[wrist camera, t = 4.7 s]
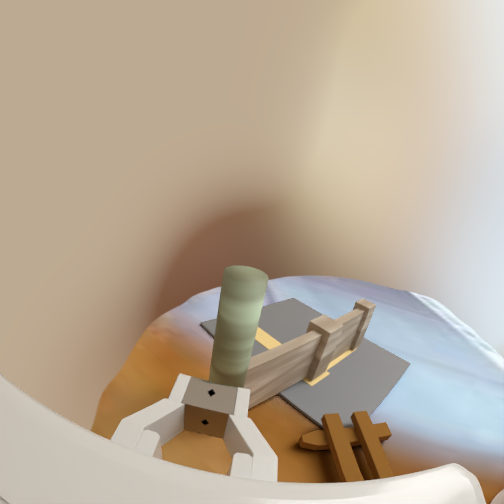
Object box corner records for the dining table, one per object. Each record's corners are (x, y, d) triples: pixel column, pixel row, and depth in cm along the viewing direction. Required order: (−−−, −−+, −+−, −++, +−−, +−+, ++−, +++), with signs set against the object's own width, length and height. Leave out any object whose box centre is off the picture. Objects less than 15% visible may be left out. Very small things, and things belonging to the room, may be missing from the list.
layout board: (409, 365, 36) (410, 363, 35) (343, 443, 22) (345, 441, 21) (293, 299, 53) (293, 297, 53) (200, 324, 39) (200, 322, 39)
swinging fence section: (325, 371, 32) (365, 260, 28) (216, 433, 21) (243, 286, 17) (308, 360, 34) (343, 251, 30) (198, 412, 23) (215, 267, 19)
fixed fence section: (359, 346, 39) (376, 304, 37) (327, 369, 33) (346, 322, 31) (347, 339, 41) (362, 298, 39) (313, 360, 35) (330, 313, 33)
